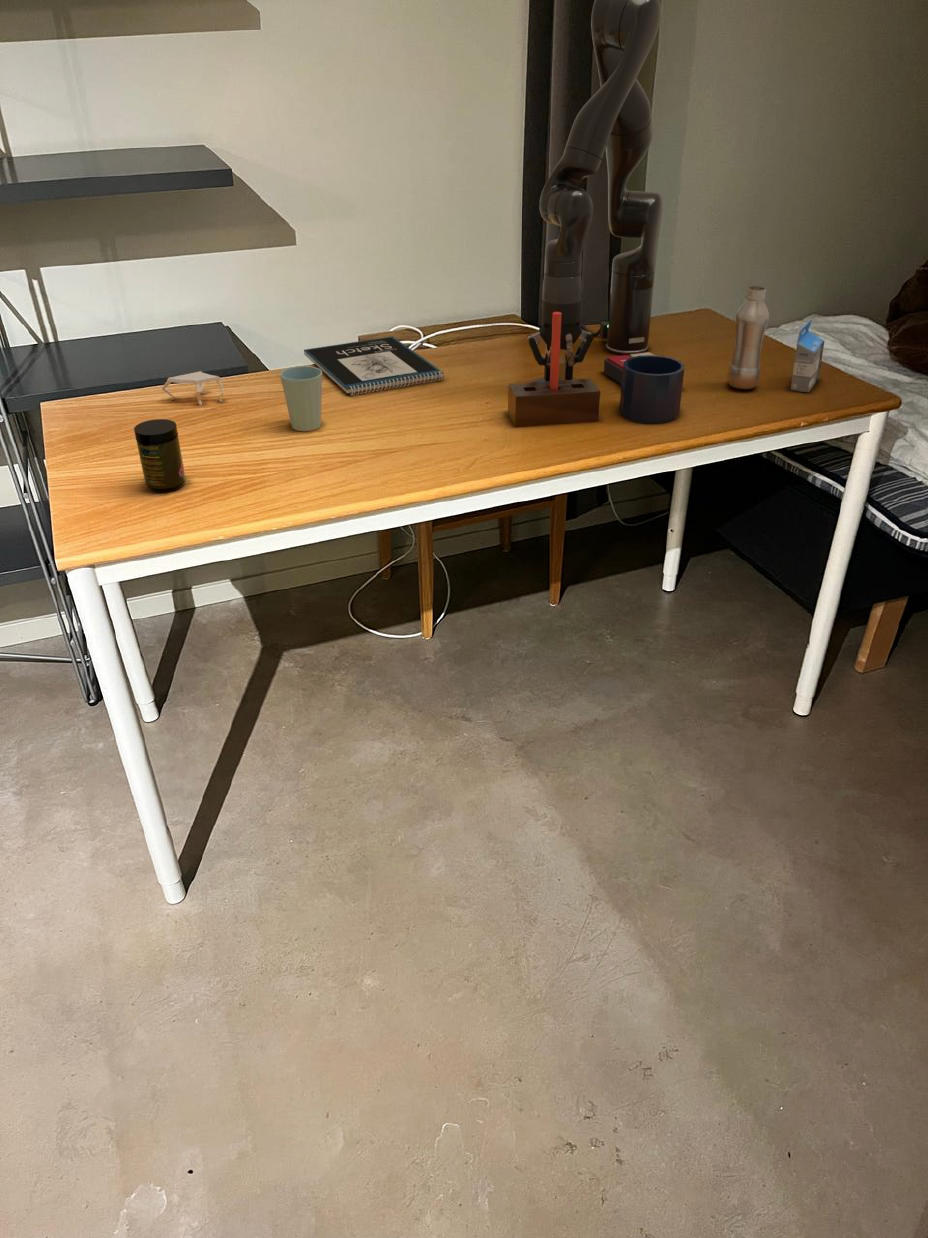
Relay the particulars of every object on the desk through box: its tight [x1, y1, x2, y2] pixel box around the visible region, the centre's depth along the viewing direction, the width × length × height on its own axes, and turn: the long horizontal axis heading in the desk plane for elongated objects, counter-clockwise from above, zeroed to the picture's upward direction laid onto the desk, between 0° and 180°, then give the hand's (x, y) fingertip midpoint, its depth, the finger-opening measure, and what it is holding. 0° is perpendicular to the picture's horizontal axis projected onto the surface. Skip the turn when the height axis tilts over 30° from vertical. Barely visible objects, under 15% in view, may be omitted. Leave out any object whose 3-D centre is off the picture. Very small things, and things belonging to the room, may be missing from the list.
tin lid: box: [530, 357, 576, 382], centre depth 200 cm, size 13×13×7 cm
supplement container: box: [133, 418, 187, 493], centre depth 164 cm, size 7×7×10 cm
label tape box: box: [790, 318, 825, 393], centre depth 201 cm, size 9×4×12 cm, turn 150°
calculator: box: [603, 351, 655, 385], centre depth 206 cm, size 11×4×15 cm
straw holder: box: [507, 378, 601, 428], centre depth 189 cm, size 7×16×6 cm, turn 99°
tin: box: [618, 354, 686, 425], centre depth 190 cm, size 11×11×10 cm
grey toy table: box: [161, 370, 226, 406], centre depth 199 cm, size 12×8×5 cm
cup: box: [279, 365, 323, 432], centre depth 185 cm, size 8×8×10 cm
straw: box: [550, 312, 562, 390], centre depth 185 cm, size 2×2×20 cm
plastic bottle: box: [727, 285, 770, 390], centre depth 198 cm, size 6×7×20 cm
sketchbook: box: [303, 336, 445, 396], centre depth 215 cm, size 22×30×2 cm
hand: (557, 382), depth 201 cm, fingers closed on tin lid, 3 cm apart
